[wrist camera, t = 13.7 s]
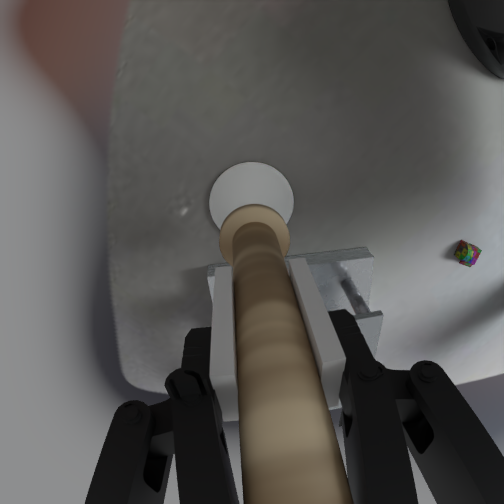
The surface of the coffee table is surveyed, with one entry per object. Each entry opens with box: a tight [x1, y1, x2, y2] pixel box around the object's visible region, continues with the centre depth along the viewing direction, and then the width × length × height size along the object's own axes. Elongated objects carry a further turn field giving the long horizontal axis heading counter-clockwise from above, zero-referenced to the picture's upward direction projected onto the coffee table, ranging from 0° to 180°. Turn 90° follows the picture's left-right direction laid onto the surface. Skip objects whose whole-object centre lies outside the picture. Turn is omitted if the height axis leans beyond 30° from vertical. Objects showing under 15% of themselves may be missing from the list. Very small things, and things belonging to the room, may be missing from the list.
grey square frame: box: [207, 247, 383, 410], centre depth 29 cm, size 15×15×8 cm
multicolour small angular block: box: [454, 240, 482, 267], centre depth 30 cm, size 4×3×2 cm, turn 74°
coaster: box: [209, 162, 294, 229], centre depth 26 cm, size 7×7×1 cm
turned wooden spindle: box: [219, 204, 354, 504], centre depth 13 cm, size 4×4×17 cm
